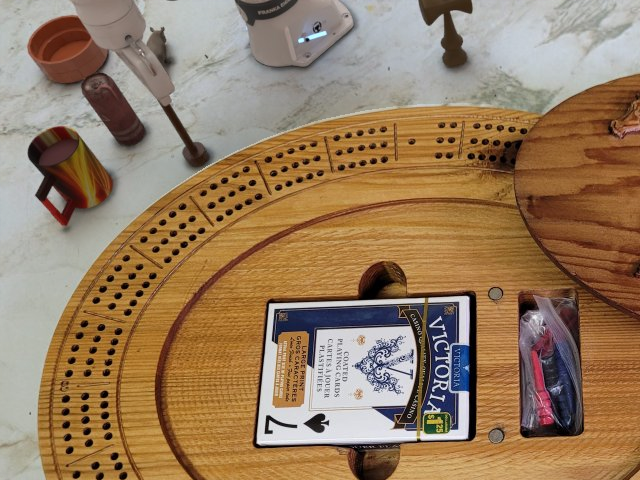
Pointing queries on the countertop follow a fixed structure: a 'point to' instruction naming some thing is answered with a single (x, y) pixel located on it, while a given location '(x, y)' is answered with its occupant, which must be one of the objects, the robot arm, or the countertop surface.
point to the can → (113, 108)
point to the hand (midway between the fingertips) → (153, 88)
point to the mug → (68, 171)
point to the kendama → (447, 27)
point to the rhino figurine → (158, 45)
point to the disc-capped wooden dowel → (187, 140)
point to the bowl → (65, 50)
